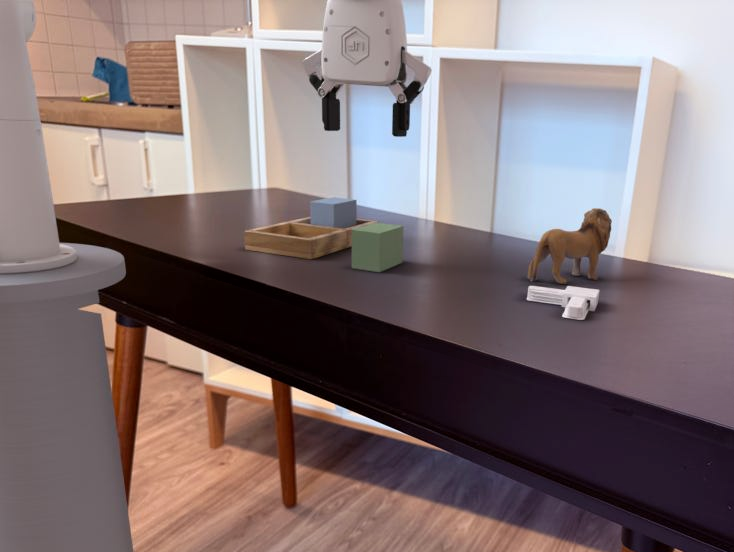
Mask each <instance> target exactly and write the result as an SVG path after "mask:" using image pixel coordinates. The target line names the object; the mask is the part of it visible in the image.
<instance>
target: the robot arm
mask: <svg viewBox="0 0 734 552" xmlns="http://www.w3.org/2000/svg"><path fill="white" fill-rule="evenodd" d="M36 25H37V12H36V6H35V2H34V0H0V274H14V273H27V272H36V271H43V270H50V269H55V268H59V267H63V266H66V265H69V264H71V263H73V262H74V261H76V259H77V255H76V250H75V249H74V248H72V247H70V246H66V245H62V244H59V243H60V238H59V231H58V225H57V219H56V211H55V205H54V204H55V203H54V198H53V192H52V186H51V180H50V173H49V166H48V159H47V152H46V146H45V140H44V139H45V138H44V134H43V127H42V120H41V117H40V109H39V103H38V97H37V91H36V86H35V79H34V75H33V70H32V65H31V61H30V55H29V51H28V45H27V43H28V42H29V41H30V40H31V38H32V36H33V35H34V31H35V29H36ZM302 65H303V68H304V70H305V72H306V75H307V77H308V81H309V83H310V84H311V86H312V87H313V88H314V89H315V91H316V92H317V96H318V97H319V98H320V99H321V121H322V124H323V129H324V131H326V132H339V131H340V130H341V100H340V99H339V98H337V95H338V94H339V93H340V91H341V90H342V88H343V87H344V86H345V84H347V85H356V86H370V87H371V86H372V87H373V86H374V87H388V88H389V90H390V91H391V93H392V95H393V96H394V99H396V100H395V101H396V102H393V103H392V115H391V117H392V119H391V121H392V123H391V135H392V136H393V137H395V138H403V137H407V134H408V131H409V130H410V126H411V122H410V121H411V104H413V103H414V102H415V99H416V98H417V97H418V96H419V95H420V94H421V93H422V92H423V91H424V89H425V85H426V84H427V83H428V80H429V78H430V75H431V73H432V68H431V66H429V65H428V64H426V63H425V62H423V61H422V60H421V59H419V58H418V57H416V56H415V55H413V54H412V53H410V52H409V51H408V40H407V27H406V20H405V12H404V7H403V0H327V1H326V5H325V11H324V18H323V27H322V37H321V49H320V50H318V51H316V52H315V53H312V54H311V55H309V56H307V57H306V58H304V59H303V60H302ZM320 66H321V71H320ZM408 68H410V69H412V70H413V71H414V73H415V74H414V77H413V80H412V81H411V82H410V83H409V84H408V85H407V84H406V81H407V79H408V78H407V77H408ZM320 72H321V73H320Z"/></svg>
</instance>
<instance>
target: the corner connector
mask: <svg viewBox="0 0 734 552" xmlns="http://www.w3.org/2000/svg"><path fill="white" fill-rule="evenodd" d="M599 296H600V289H595V288H587V287H580V286H572V285H567V286H566V288H565V289H559V288H554V287H553V288H552V287H545V286H538V285H537V286H536V285H529V286H528V287H527V296H526V301H528V302H529V301H530V302H536V303H544V304H550V305H559V306H561V308H564V311H563V312H562V314H561V317H562V318H564V319H571V320H577V321H578V320H579V321H583V320H584V321H585V319H586V317H587V314H588V313H589V312H595V311H596V309H597V306H598V303H599Z"/></svg>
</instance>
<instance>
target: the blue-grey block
mask: <svg viewBox="0 0 734 552" xmlns="http://www.w3.org/2000/svg"><path fill="white" fill-rule="evenodd" d="M309 207H310V209H309V210H310V214H309V215H310V217H311V224H312V225H320V226H327V227H335V228H342V229H345V228H349V227H353V226H356V219H357V199H352V198H346V197H345V198H344V197H337V196H335V197H334V196H333V197H328V198H322V199H317V200H311V201H309Z"/></svg>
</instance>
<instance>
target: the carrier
mask: <svg viewBox="0 0 734 552" xmlns="http://www.w3.org/2000/svg"><path fill="white" fill-rule="evenodd" d="M374 223H380V221H378V220H370V219H364V218H363V219H362V218H356V226H353V227H349V228H345V229H342V228H335V227H327V226H320V225H312V224H311V216H307V217H303V218H298V219H293V220H288V221H284V222H280V223H274V224H270V225H266V226H265V225H264V226H261V227H256V228H251V229H247V230H244V231H243V235H244V249H245V250H246V251H252V252H259V253H265V254H271V255H272V254H273V255H278V256H279V255H280V256H286V257H292V258H293V257H294V258H300V259H307V260H314V259H318V258H320V257H323V256H326V255H330V254H333V253H336V252H339V251H342V250H346V249H348V248H352V229H356V228H359V227H363V226H366V225H370V224H374Z"/></svg>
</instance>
